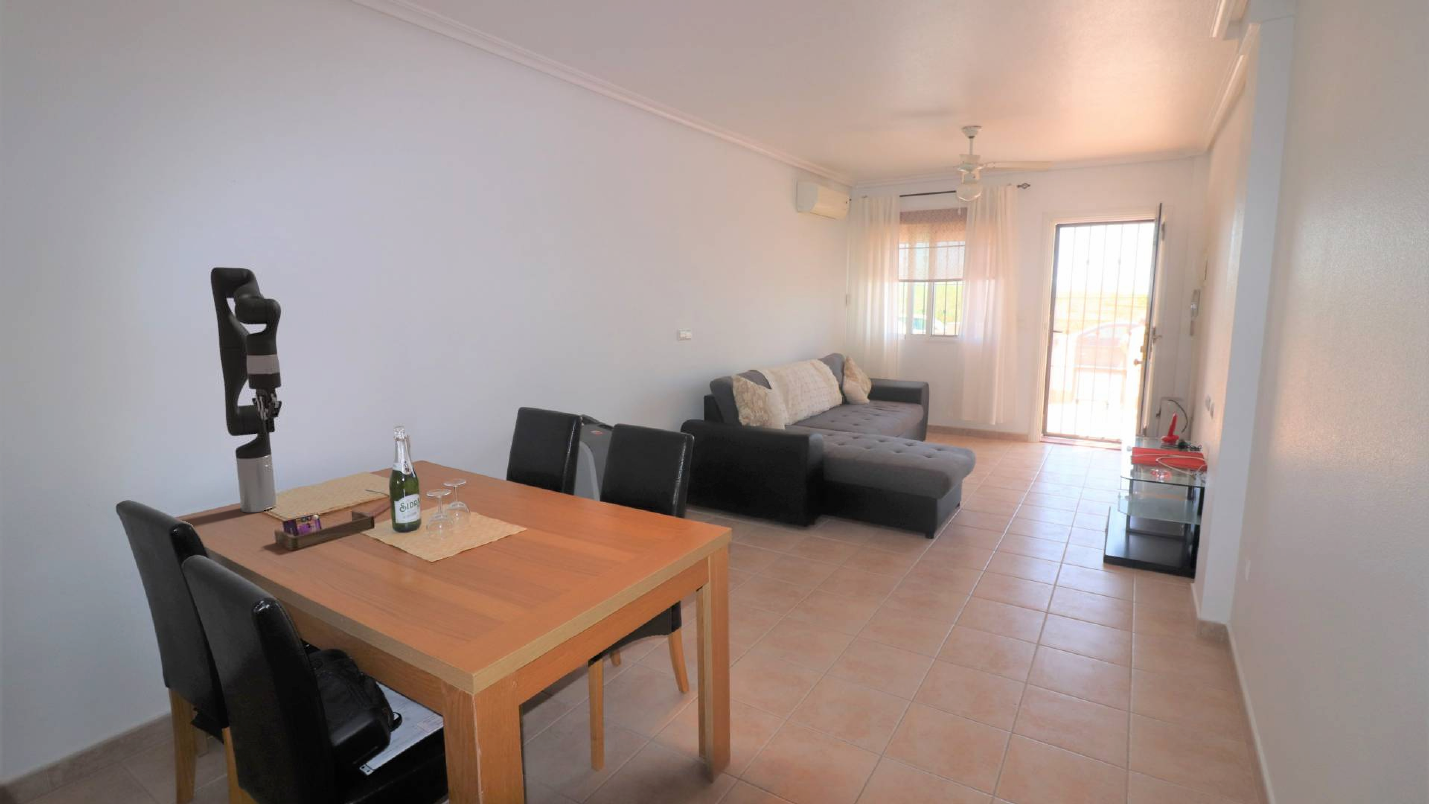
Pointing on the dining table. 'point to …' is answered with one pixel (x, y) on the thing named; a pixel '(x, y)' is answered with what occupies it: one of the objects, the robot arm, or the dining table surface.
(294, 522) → the purple printed carton
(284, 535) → the tray
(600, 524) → the dining table surface
